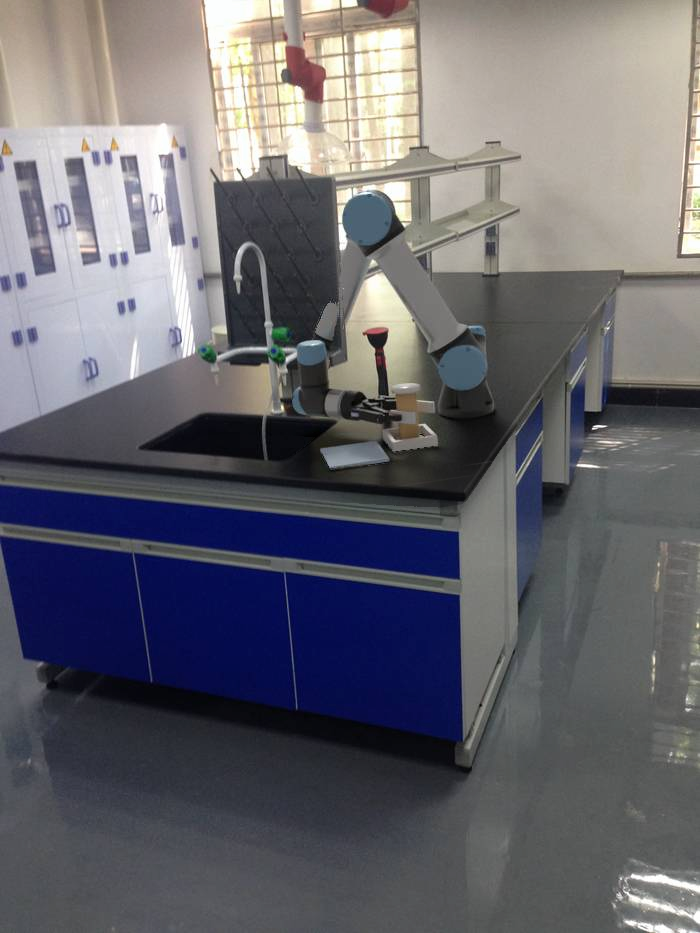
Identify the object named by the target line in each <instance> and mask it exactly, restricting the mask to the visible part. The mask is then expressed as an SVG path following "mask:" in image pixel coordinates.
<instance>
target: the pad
mask: <svg viewBox="0 0 700 933" xmlns="http://www.w3.org/2000/svg"><path fill="white" fill-rule="evenodd" d="M319 450H320V454H321V453H322V454H323V456H324V458H325V460H326V462H327V464H328V466H329V468H337V467H344V466H353V465H360V464H372V463H373V464H374V463H381V462H388V461H390V458H389V456H388V455H387V453H386V452H385V451H384V449H383V448H382V446H381V445H380V444H379V442H378V441H377V440H372V441H366V442H358V443H350V444H344V445H337V446H329V447H321V448H320V449H319ZM322 454H321V455H322ZM323 456H322V457H323ZM324 458H323V459H324ZM325 460H324V461H325ZM326 462H325V463H326ZM327 464H326V465H327ZM328 466H327V467H328ZM329 468H328V469H329Z"/></svg>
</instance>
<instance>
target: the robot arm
mask: <svg viewBox="0 0 700 933" xmlns="http://www.w3.org/2000/svg"><path fill="white" fill-rule="evenodd" d="M395 207H396V206H395V204H394V202H393V200H392V199H391V198H390V196H388V194H387V193H385V192H382V191H380V190H378V189H368V190H363V191H359V192H358V193H356V194H354V195H353V196H352V197H351V198H350V199H348V201H347V202H346V204H345V205H344V207H343V210H342V211H343V212H342V214H341V222H342V227H343V230H344V232H345V239H346V241H347V244H346V245H345V248H344V251H343V254H342V256H341V259H340V261H341V262H339V264H340V266H341V274H340V277H339V282H340V287H339V300H340V297H341V300H340V302H338V303H337V304H338V305H337V304H336V302H335V304H334V303H331V301H330V303H328V304H327V306H326V307H325V309H324V311H323V314H322V316H321V319H320V321H319V320H318V321H319V323H318V322H317V323H318V325H317V324H316V326H317V328H316V327H315V329H316V331H315V330H314V332H315V333H314V332H313V334H314V335H313V334H312V336H313V338H312V337H311V339H312V340H305V341H302V342H300V343H298V344H297V345H296V361H297V368H298V376H299V383H300V384H299V387H297V388H296V389H295V390H294V392H293V394H292V396H293V398H292V399H291V400H292V407H293V409H294V410H295V412H297V413H298V414H300V415H304V416H305V415H306V416H309V417H319V418H320V417H321V418H329V419H336V420H337V421H341V420H347V421H352V422H353V421H354V422H355V421H356V422H357V421H358V422H359V421H363V422H367V423H373V424H378V425H383V424H384V425H385V426H390V424H391V423H397V424H398V423H407V424H416V417H415V412H406V411H397V406H396V395H394V396H393V395H390V396H388V395H381V394H380V395H377V397H366V395H365V394H364V393H363V392H362V391H359V390H350V389H349V390H348V389H342V388H341V389H340V388H330V380H329V378H330V377H329V369H328V368H329V367H330V366H329V364H330V363H329V362H330V360H329V355H330V348H329V347H330V346H331V344H332V342H333V341H332V340H333V339H332V338H333V336H334V331H335V330H334V329H335V326H336V324H337V323H336V322H337V319H338V318H337V317H339V311H340V317H341V319H342V320H341V322H342V321H343V329H344V320H345V329H346V328H347V325H348V322H349V320H350V317H351V316H352V315H351V314H352V313H353V310H354V307H355V305H356V302H357V300H358V297H359V295H360V292H361V289H362V287H363V284H364V282H365V279H366V276H367V275H368V274H367V273H368V271H369V269H370V267H371V264H372V261H375V263H376V264H377V265H378V268H380V271H381V272H382V273H383V275H384V276H385V278H386V279H387V281H388V283H389V284H390V286H391V287H392V289H393V290H394V291H395V293H396V294H397V297H399V299H400V301H401V303H402V304H403V306H404V307H405V308H406V310H407V311H408V313H409V315H410V316H411V317H412V319H413V321H414V323H416V325H417V327H418V328H419V330H420V331H421V333H422V335H423V336H424V337H425V339H426V340H427V343H428V346H427V349H426V350H427V354H429V357H430V358H431V359H432V362H433V363H434V365H435V366H436V367H437V369H438V374H439V377H440V379H441V380H442V388H441V392H440V395H439V399H438V403H437V413H438V412H439V413H438V415H440V414H441V415H440V416H442V415H443V417H445V416H446V417H445V418H449V417H452V418H451V419H475V418H480V417H481V418H482V417H483V416H487V415H490V414H492V413H493V412H494V411H495V401H494V399H493V398H494V397H493V394H492V393H491V389H490V388H489V385H488V381H487V380H488V379H487V374H488V373H487V371H488V367H489V366H488V365H489V364H488V363H489V362H488V359H487V348H486V347H487V346H486V345H487V343H486V342H487V341H486V338H487V334H486V329H485V327H483V325H467V324H463V323H459V321H457V319H456V318H455V316H454V315H453V313H452V311H451V310H450V308H449V307H448V305H447V304H446V302H445V300H444V299H443V297H442V296H441V294H440V292H439V290H438V289H437V288H436V287H435V284H433V282H432V280H431V279H430V277H429V275H428V274H427V272H426V271H425V269H424V267H423V266H422V264H421V263H420V261H419V260H418V258H417V256H416V255H415V253H414V252H413V250H412V249H411V247H410V245H409V244H408V242H407V241H406V233H407V230H406V227H405V226H404V225H403V223H402V221H401V219H400V218H399V216H398V215H397V213H396V208H395ZM343 288H344V289H343ZM342 289H343V290H342ZM342 295H343V300H342ZM339 303H340V310H339ZM336 305H337V306H336ZM343 307H344V317H343ZM337 315H338V316H337ZM330 365H331V364H330ZM435 404H436V403H435V401H432V400H431V401H428V400H418V399H417V409H418V413H427V414H435V413H436V407H435Z"/></svg>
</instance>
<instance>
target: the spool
mask: <svg viewBox="0 0 700 933" xmlns="http://www.w3.org/2000/svg"><path fill="white" fill-rule="evenodd" d="M420 391H421V385H420V384H419V383H416V382H415V383H414V382H413V383H411V382H406V383H398V384H394V385H392V386H390V392H391V394H394V395H395V396H396V406H397V410H396V411H406V412H415V417H416V424H407V423H398V422H397V426H398V430H399V437H397V438H396V439H395V440H396V441H397V440H404V439H411V438H418V437H424V436H423V435H419V412H418V409H417V400H418V398H417V396H418V395H417V393H418V392H420Z"/></svg>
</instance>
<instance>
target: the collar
mask: <svg viewBox="0 0 700 933" xmlns="http://www.w3.org/2000/svg"><path fill="white" fill-rule="evenodd" d="M420 434H423V435H424V436H425V437H424V436H423V435H422V436H423V437H418V438H411V439H404V440H397V441H396V440H395V439H394V438H397V437H399V430H398V427H391V428H385V429H382V440H383V441H384V442H385V443H386V445H387V444H388V445H387V446H388V447H389V449H390V450H391V449H392V450H391V451H392V452H393V453H396V452H395V451H399V452H402V451H401V450H406V451H411V450H410V449H413V450H418V449H417V448H420V449H425V448H424V447H427V448H432V447H431V446H434V447H438V446H439V443H438V442H439V441H438V435H437V433H435V432H434V431H433V430H432V429H431V428H430V427H429V426H428V425H427V424H426V423H420V424H419V435H420Z"/></svg>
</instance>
